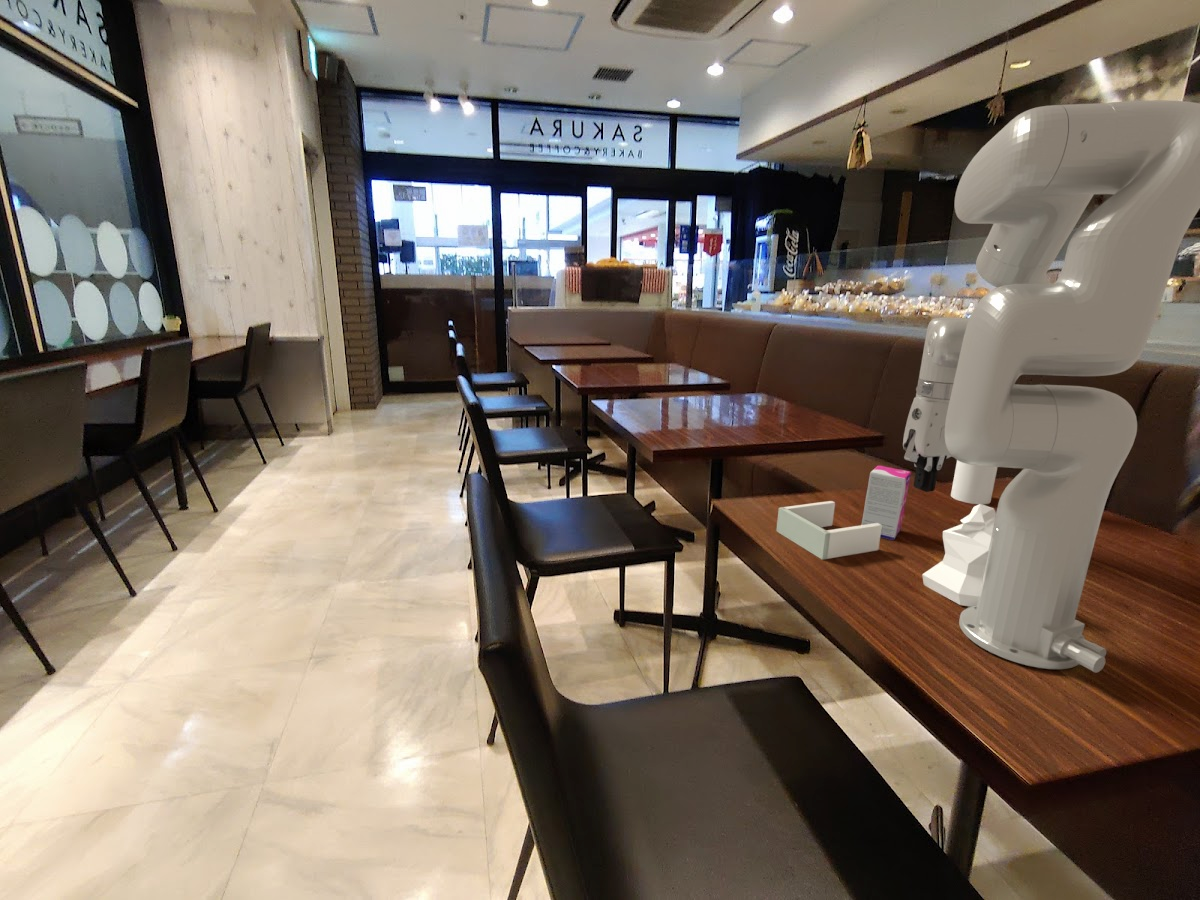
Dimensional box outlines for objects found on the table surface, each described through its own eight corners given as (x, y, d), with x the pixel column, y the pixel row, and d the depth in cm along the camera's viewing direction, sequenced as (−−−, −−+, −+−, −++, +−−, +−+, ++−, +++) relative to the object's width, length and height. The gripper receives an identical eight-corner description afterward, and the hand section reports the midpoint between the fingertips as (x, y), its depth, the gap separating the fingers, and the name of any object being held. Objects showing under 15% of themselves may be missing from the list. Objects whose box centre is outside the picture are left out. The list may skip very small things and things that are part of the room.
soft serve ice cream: (991, 638, 75) (979, 538, 72) (908, 590, 90) (896, 506, 86) (1071, 606, 77) (1063, 508, 74) (978, 564, 91) (968, 481, 88)
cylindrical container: (998, 504, 119) (1023, 383, 112) (963, 504, 119) (986, 382, 112) (977, 493, 126) (999, 377, 119) (943, 492, 126) (964, 377, 119)
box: (878, 550, 97) (882, 525, 96) (822, 559, 93) (825, 533, 92) (828, 523, 108) (831, 500, 107) (776, 531, 104) (778, 507, 103)
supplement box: (895, 541, 100) (905, 478, 97) (859, 532, 104) (867, 471, 101) (902, 530, 105) (911, 470, 102) (867, 522, 108) (875, 464, 105)
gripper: (927, 397, 95) (908, 501, 100) (992, 391, 100) (972, 491, 105) (890, 388, 102) (875, 486, 107) (954, 384, 107) (936, 478, 112)
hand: (923, 488), depth 106 cm, fingers closed
